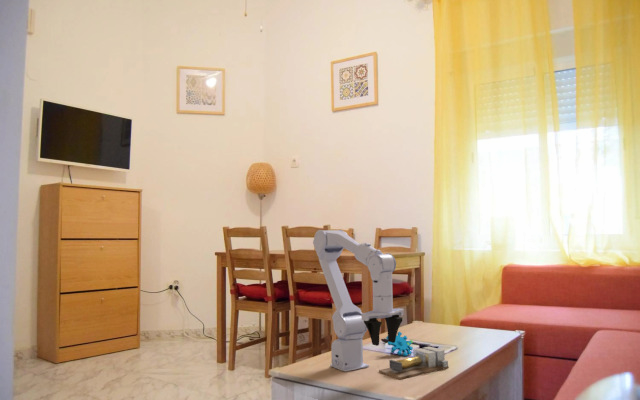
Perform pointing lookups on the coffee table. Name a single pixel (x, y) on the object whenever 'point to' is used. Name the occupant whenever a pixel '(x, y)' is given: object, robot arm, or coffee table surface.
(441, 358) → the link
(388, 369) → the board
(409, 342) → the gear
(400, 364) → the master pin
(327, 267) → the robot arm
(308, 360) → the coffee table surface
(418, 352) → the link
